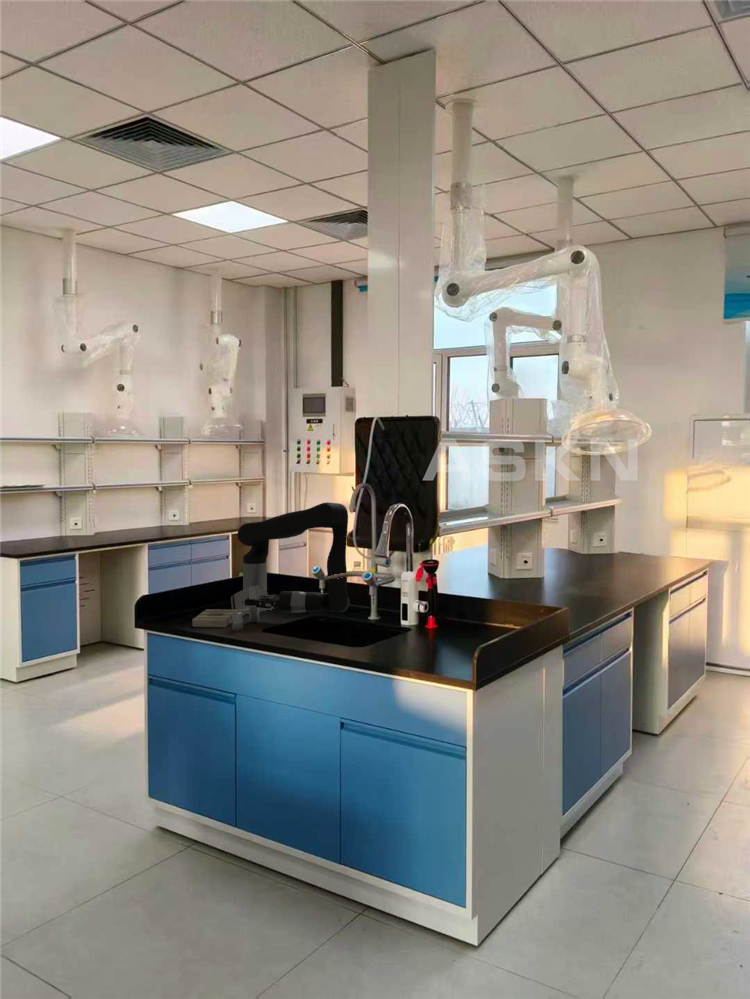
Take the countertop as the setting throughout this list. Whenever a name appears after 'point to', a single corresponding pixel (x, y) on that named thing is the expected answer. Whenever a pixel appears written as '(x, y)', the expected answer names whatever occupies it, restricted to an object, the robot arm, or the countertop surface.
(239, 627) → the short pin
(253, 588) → the long pin
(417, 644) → the countertop surface
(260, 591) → the hinge
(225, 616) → the hole plate
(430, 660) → the countertop surface
